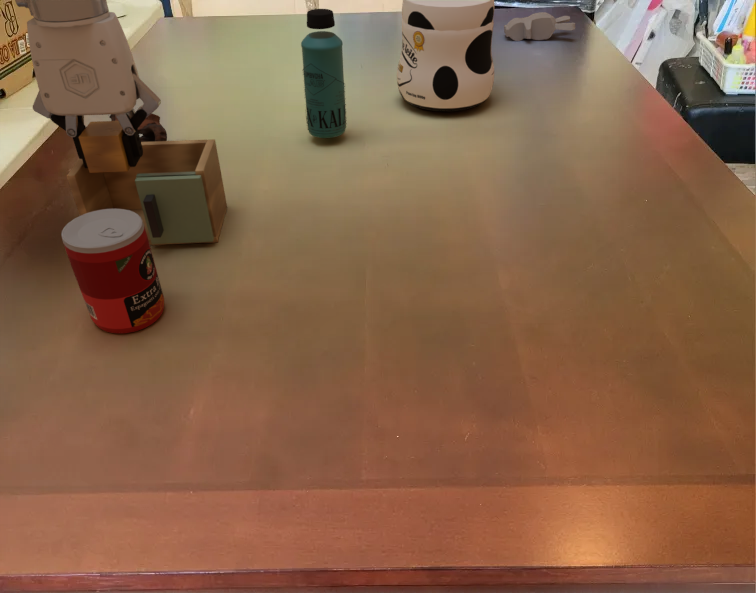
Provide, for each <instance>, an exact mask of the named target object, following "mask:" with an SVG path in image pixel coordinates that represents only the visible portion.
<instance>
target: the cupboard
mask: <svg viewBox="0 0 756 593" xmlns="http://www.w3.org/2000/svg"><path fill="white" fill-rule="evenodd" d="M141 144H142V148H143V155H142V157H140V159H139V161H138V163H137V165H136V166H135V167H130V169H129V170H128V172H101V173H90V172H89V169H88V168H85V167H84V163H83V160H82V159H80V158H79V157H78V159H77V160H76V162H75V164H74V165H73V166H72V168H71V169H70V170H69V172H68V173H67V174H66V180H67V182H68V185H69V188H70V191H71V194H72V198H73V200H74V203H75V206H76V209H77V212H78V215H79V216H81V215H83V214H86V213H89V212H93V211H97V210H103V209H125V210H130V211H132V212H135V213H136V214H138V215H139V216H140V217H141V219H142V221H143V224H144V227H145V230H146V233H147V237H148V240H149V244H150V246H159V245H160V246H161V245H162V246H163V245H166V244H152V243H151V239H150V235H149V232H148V228H147V224H146V221H145V217H144V213H143V209H142V206H141V202H140V198H139V195H138V191H137V187H136V184H135V179H136V178H141V177H167V176H193V175H201V177H202V182H203V187H204V192H205V197H206V202H207V207H208V212H209V216H210V221H211V226H212V231H213V236H214V240H213V242H194V243H193V244H210V243H219V239H220V235H221V232H222V228H223V224H224V221H225V217H226V213H227V210H228V203H227V198H226V193H225V187H224V180H223V175H222V171H221V164H220V161H219V153H218V148H217V142H216V139H187V140H186V139H185V140H184V139H183V140H167V141H155V142H141ZM186 244H190V243H170V244H169V245H186Z"/></svg>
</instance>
